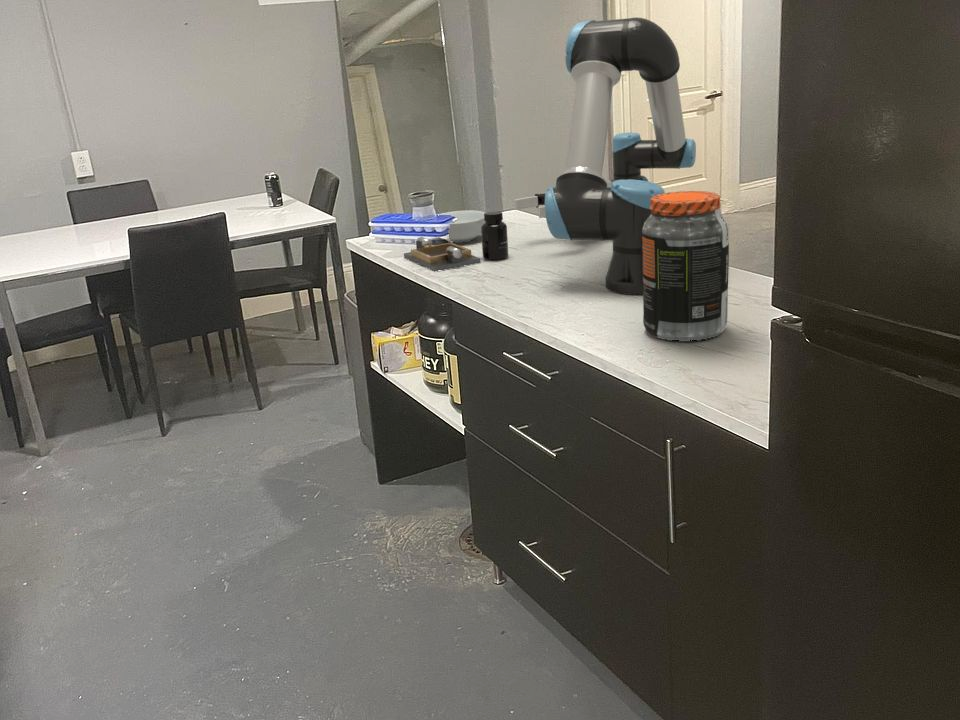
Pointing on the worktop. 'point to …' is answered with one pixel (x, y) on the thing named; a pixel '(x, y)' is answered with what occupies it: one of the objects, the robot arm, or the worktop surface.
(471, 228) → the cereal bowl
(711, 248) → the supplement tub
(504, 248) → the supplement bottle
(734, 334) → the worktop surface
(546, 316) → the worktop surface
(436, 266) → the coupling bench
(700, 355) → the worktop surface
